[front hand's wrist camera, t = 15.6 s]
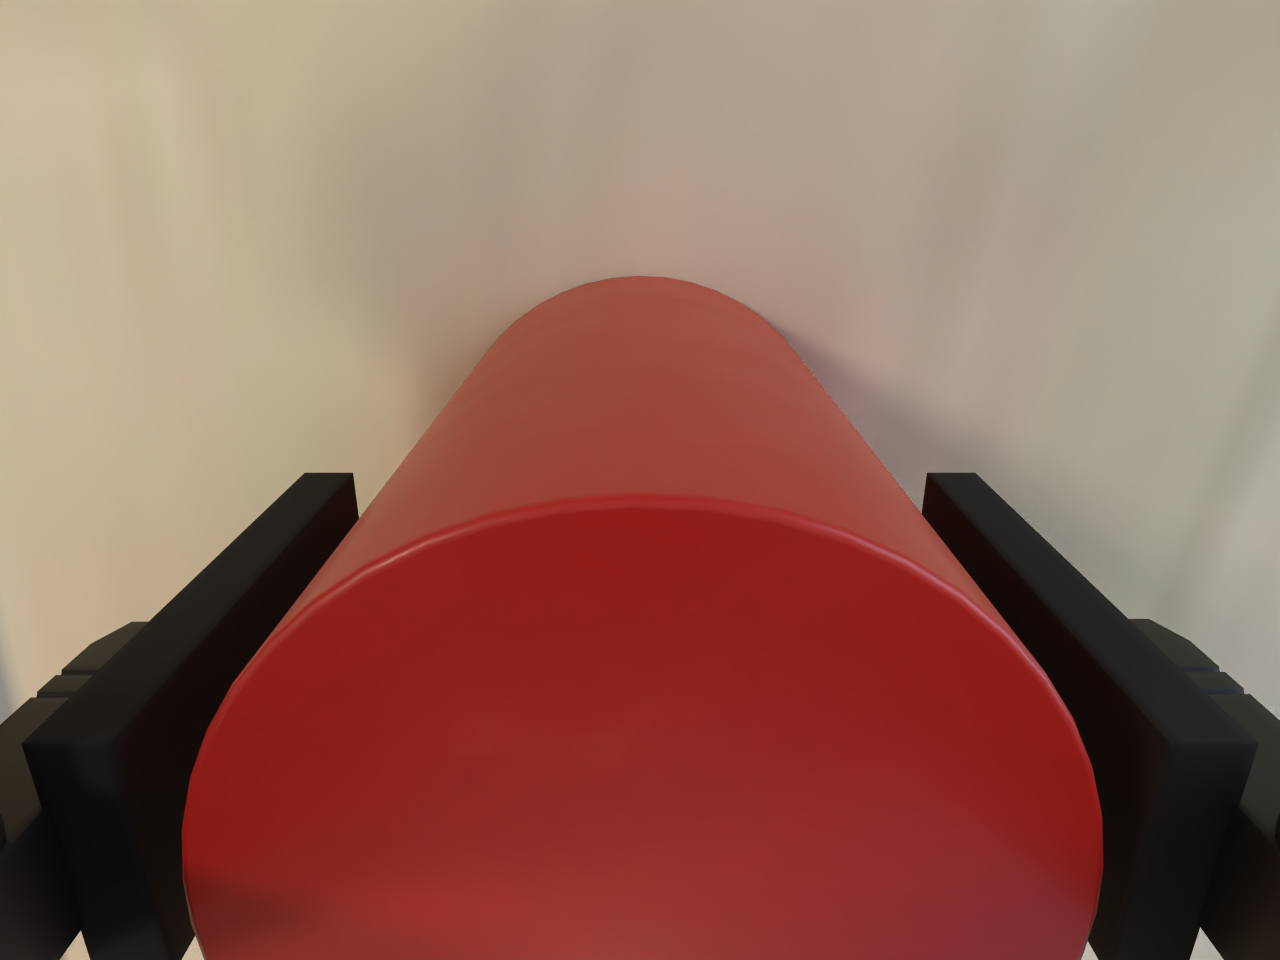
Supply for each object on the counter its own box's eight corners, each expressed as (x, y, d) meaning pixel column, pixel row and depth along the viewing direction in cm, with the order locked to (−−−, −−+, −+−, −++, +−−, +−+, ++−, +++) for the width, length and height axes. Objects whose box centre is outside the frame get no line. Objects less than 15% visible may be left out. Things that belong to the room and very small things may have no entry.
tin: (397, 338, 16) (-11, 649, 6) (782, 225, 16) (1058, 366, 5) (524, 661, 19) (388, 1259, 9) (858, 579, 18) (1140, 1127, 8)
